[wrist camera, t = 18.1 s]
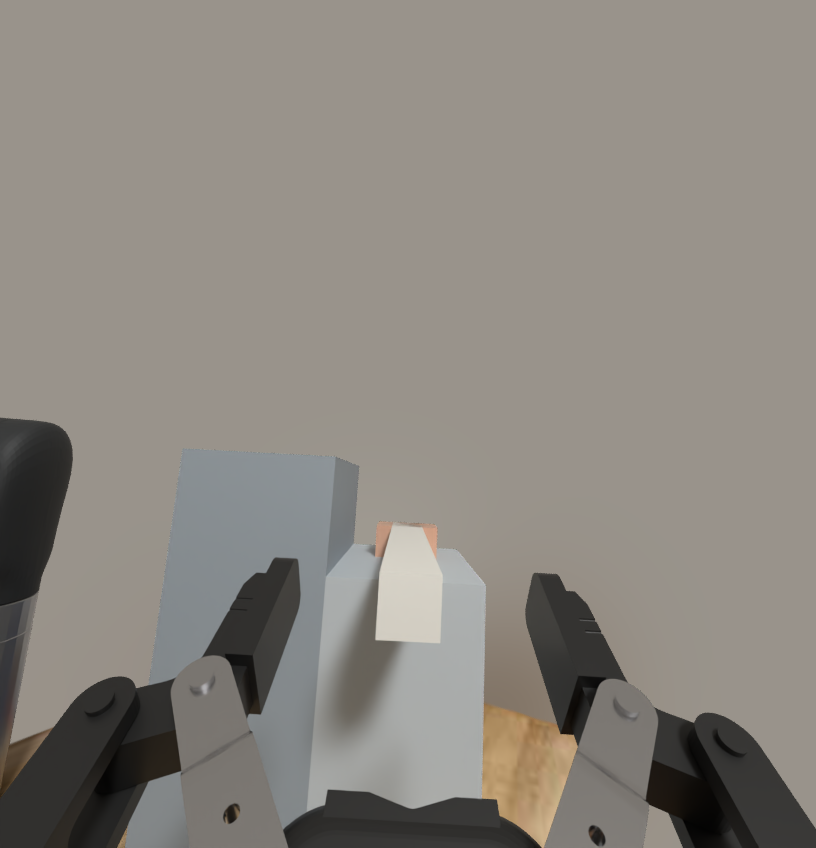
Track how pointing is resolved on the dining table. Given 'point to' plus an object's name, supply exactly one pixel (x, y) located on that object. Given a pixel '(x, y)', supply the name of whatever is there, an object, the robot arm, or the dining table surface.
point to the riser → (318, 643)
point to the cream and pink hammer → (408, 583)
